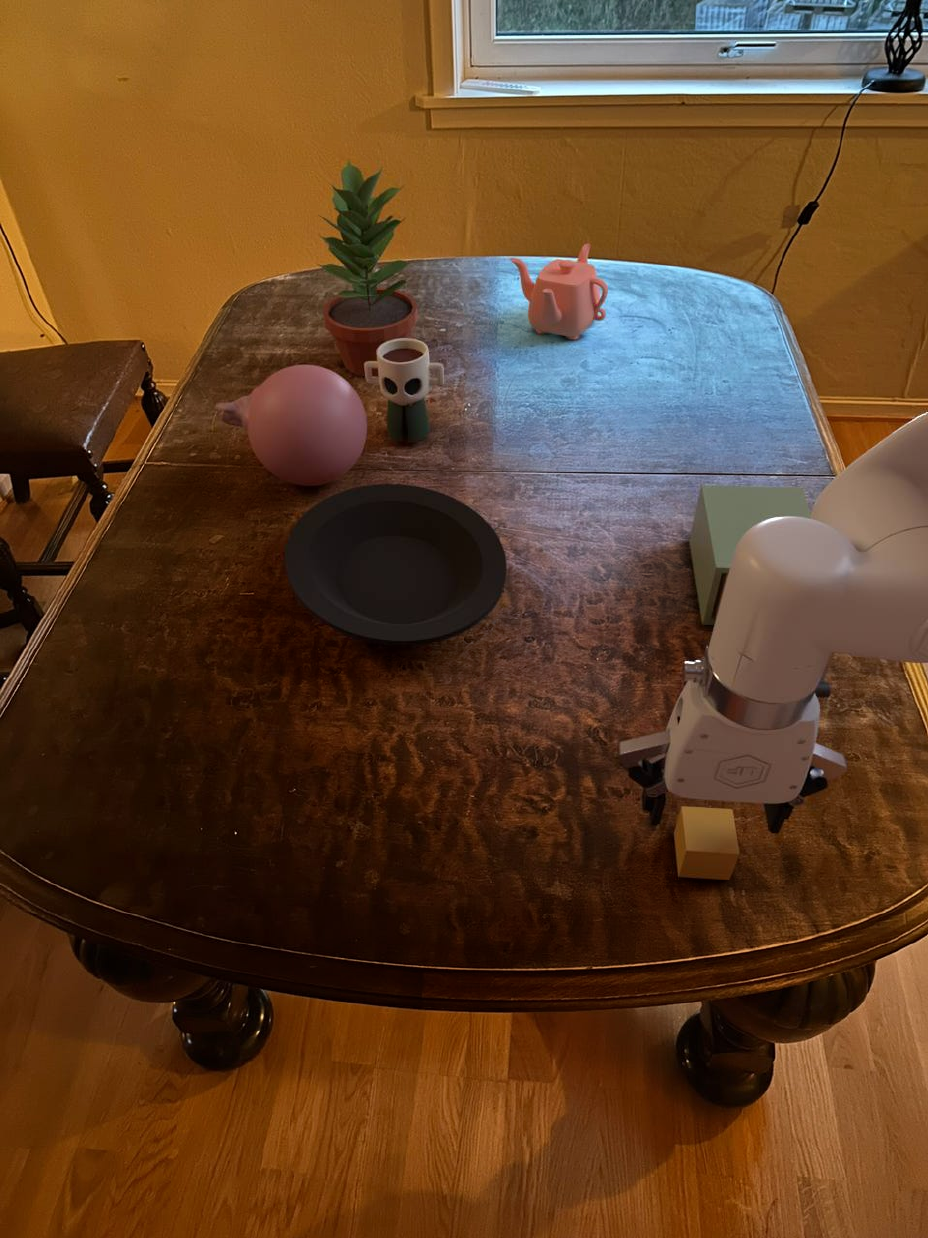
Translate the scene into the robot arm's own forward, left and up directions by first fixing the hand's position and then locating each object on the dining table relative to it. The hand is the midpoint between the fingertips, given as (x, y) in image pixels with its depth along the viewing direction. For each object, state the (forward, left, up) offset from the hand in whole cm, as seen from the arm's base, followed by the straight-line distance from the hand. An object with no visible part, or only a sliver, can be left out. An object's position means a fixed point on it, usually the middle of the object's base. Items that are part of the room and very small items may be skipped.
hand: (711, 814), depth 74 cm
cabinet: (-26, -27, -7) cm, 38 cm away
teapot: (-38, -93, -7) cm, 101 cm away
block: (0, 0, -7) cm, 7 cm away
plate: (+11, -44, -7) cm, 46 cm away
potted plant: (-6, -96, -7) cm, 96 cm away
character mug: (-3, -74, -7) cm, 74 cm away
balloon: (+14, -72, -7) cm, 74 cm away
